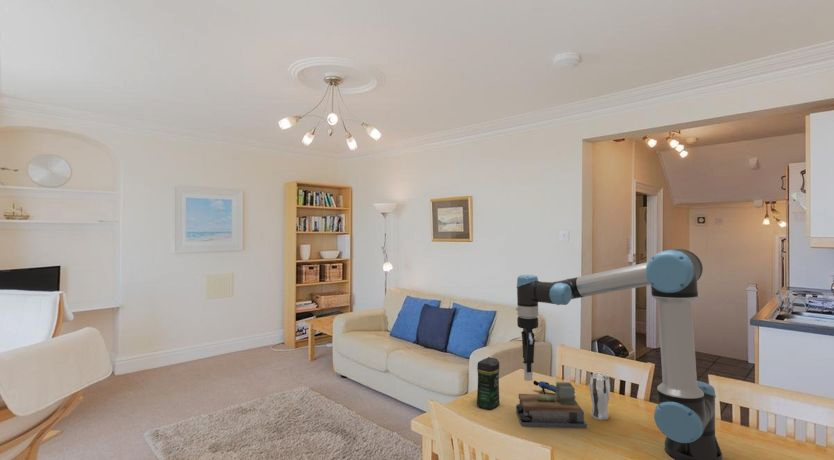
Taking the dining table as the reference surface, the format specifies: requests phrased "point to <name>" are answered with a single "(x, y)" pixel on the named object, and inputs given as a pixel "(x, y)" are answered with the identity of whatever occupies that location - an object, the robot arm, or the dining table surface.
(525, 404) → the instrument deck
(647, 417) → the dining table surface
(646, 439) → the dining table surface
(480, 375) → the coffee jar
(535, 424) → the grey base with fittings
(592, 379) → the beer glass
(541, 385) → the person figurine
